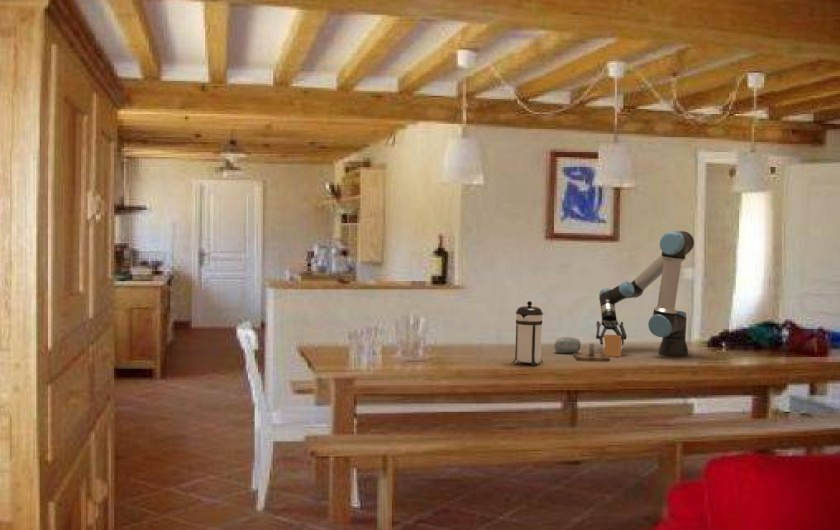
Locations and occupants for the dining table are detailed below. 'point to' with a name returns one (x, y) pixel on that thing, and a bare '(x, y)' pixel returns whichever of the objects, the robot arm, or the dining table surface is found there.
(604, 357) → the shaft stand
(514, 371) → the dining table surface
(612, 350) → the spacer sleeve
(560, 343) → the grey green rounded lump
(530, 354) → the coffee press
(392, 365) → the dining table surface
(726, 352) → the dining table surface
